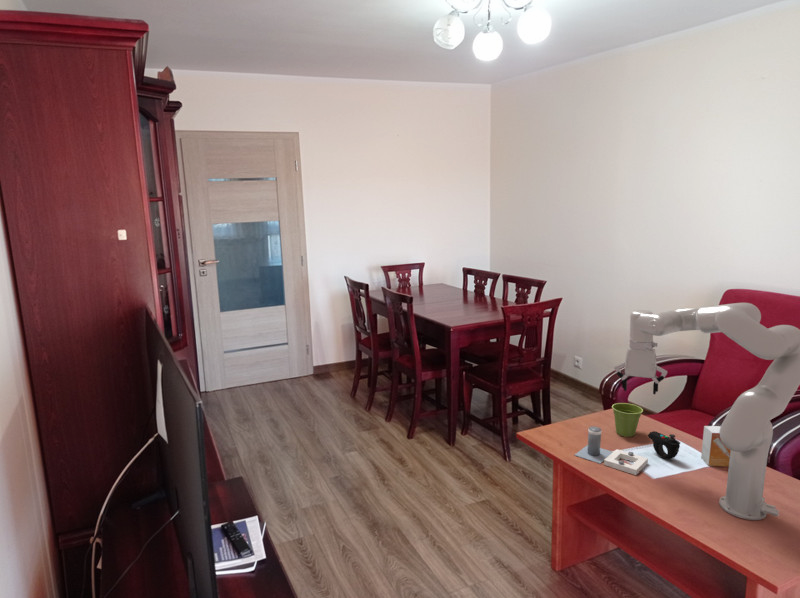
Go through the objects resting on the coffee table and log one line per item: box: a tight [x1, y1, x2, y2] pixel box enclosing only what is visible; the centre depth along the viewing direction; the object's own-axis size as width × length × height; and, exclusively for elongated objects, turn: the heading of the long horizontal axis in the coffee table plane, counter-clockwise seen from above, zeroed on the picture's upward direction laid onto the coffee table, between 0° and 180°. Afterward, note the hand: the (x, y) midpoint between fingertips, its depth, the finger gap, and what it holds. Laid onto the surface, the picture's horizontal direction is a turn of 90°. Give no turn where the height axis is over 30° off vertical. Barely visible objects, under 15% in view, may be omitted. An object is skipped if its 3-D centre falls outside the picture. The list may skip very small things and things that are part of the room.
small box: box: [700, 425, 731, 468], centre depth 197 cm, size 8×6×13 cm
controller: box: [647, 430, 681, 460], centre depth 202 cm, size 4×12×10 cm, turn 23°
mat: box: [574, 444, 614, 465], centre depth 206 cm, size 10×12×1 cm
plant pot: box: [611, 402, 644, 438], centre depth 222 cm, size 12×12×11 cm
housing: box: [603, 448, 649, 476], centre depth 197 cm, size 12×12×3 cm
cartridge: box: [587, 425, 602, 456], centre depth 205 cm, size 5×5×10 cm
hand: (639, 391), depth 193 cm, fingers open, 9 cm apart
